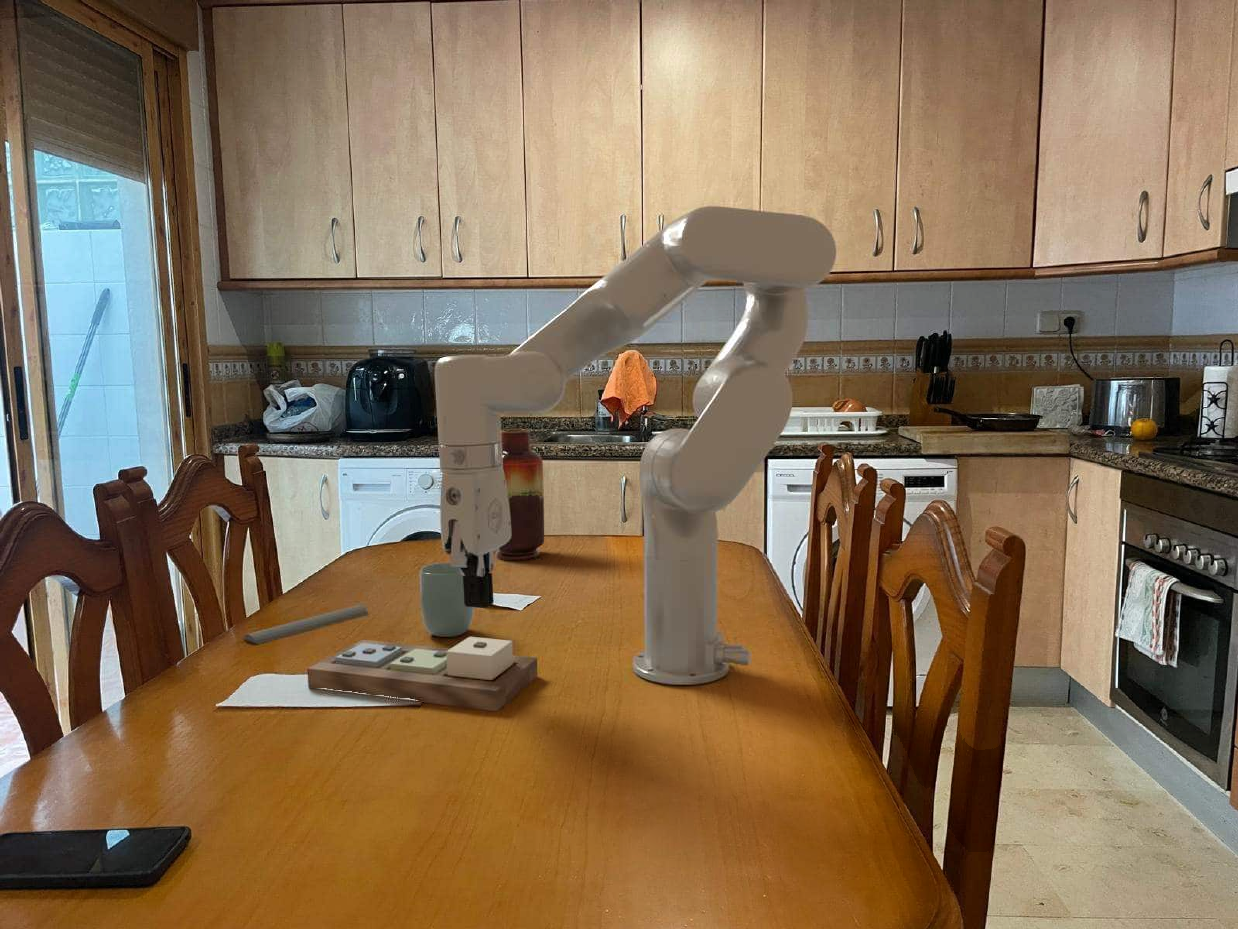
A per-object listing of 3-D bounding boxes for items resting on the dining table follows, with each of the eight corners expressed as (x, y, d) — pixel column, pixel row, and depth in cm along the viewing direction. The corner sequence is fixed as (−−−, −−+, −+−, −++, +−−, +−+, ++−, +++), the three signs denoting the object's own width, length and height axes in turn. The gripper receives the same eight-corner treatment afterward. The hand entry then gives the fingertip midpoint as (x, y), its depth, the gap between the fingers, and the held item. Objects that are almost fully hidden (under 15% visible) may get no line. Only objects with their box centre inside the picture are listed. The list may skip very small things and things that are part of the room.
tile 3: (402, 669, 119) (401, 644, 118) (377, 684, 113) (375, 659, 112) (363, 664, 120) (362, 640, 120) (336, 680, 115) (335, 655, 114)
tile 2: (456, 675, 116) (456, 650, 116) (433, 691, 110) (432, 666, 110) (416, 670, 118) (415, 646, 118) (390, 686, 112) (389, 661, 112)
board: (537, 676, 116) (537, 657, 116) (496, 711, 104) (495, 690, 104) (363, 657, 124) (363, 639, 124) (308, 687, 113) (307, 668, 112)
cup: (463, 643, 130) (461, 575, 129) (413, 640, 131) (411, 573, 130) (482, 627, 137) (480, 563, 136) (434, 624, 139) (432, 561, 138)
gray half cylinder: (241, 643, 132) (240, 631, 132) (354, 613, 147) (353, 602, 147) (256, 649, 130) (256, 637, 129) (370, 617, 145) (369, 607, 144)
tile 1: (513, 663, 113) (512, 638, 113) (491, 680, 108) (491, 653, 107) (470, 659, 115) (469, 634, 115) (447, 675, 110) (446, 649, 109)
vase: (555, 553, 188) (553, 429, 185) (522, 564, 179) (519, 433, 175) (513, 548, 194) (511, 427, 191) (479, 558, 184) (476, 431, 181)
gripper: (469, 466, 100) (477, 625, 103) (525, 451, 114) (532, 591, 117) (410, 465, 103) (420, 621, 105) (472, 450, 117) (480, 588, 119)
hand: (479, 605), depth 111 cm, fingers closed
